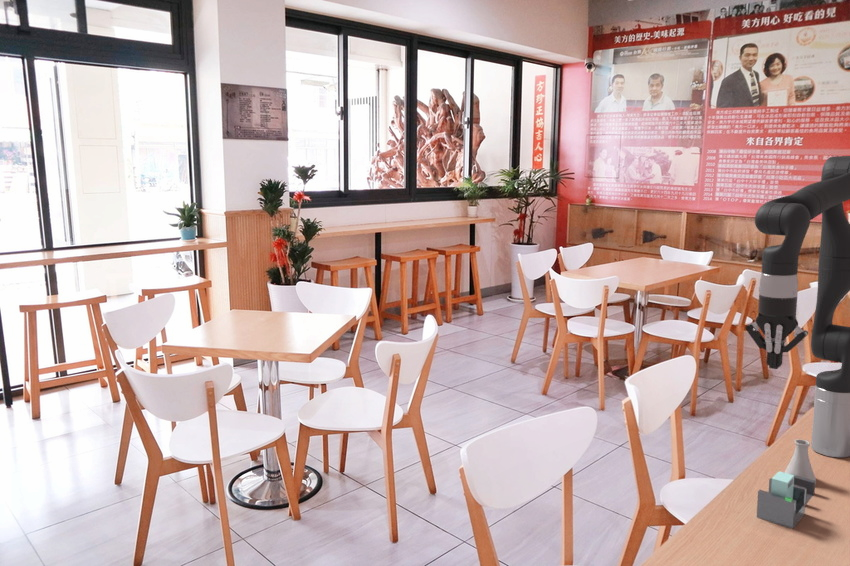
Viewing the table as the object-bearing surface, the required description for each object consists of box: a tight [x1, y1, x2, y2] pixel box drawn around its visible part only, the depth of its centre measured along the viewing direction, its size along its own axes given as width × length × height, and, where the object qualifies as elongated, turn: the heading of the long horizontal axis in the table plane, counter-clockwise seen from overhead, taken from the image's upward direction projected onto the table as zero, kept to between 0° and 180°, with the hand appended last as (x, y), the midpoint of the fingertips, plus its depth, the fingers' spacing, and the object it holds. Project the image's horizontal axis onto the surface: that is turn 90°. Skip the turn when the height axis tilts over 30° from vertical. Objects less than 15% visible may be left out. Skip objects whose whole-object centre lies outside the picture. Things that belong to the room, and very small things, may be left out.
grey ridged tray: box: [791, 474, 816, 506], centre depth 147 cm, size 8×5×4 cm, turn 135°
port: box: [756, 477, 806, 530], centre depth 139 cm, size 8×7×7 cm
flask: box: [784, 438, 817, 486], centre depth 154 cm, size 7×7×10 cm
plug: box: [771, 470, 794, 499], centre depth 139 cm, size 4×3×8 cm
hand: (773, 367), depth 149 cm, fingers closed
